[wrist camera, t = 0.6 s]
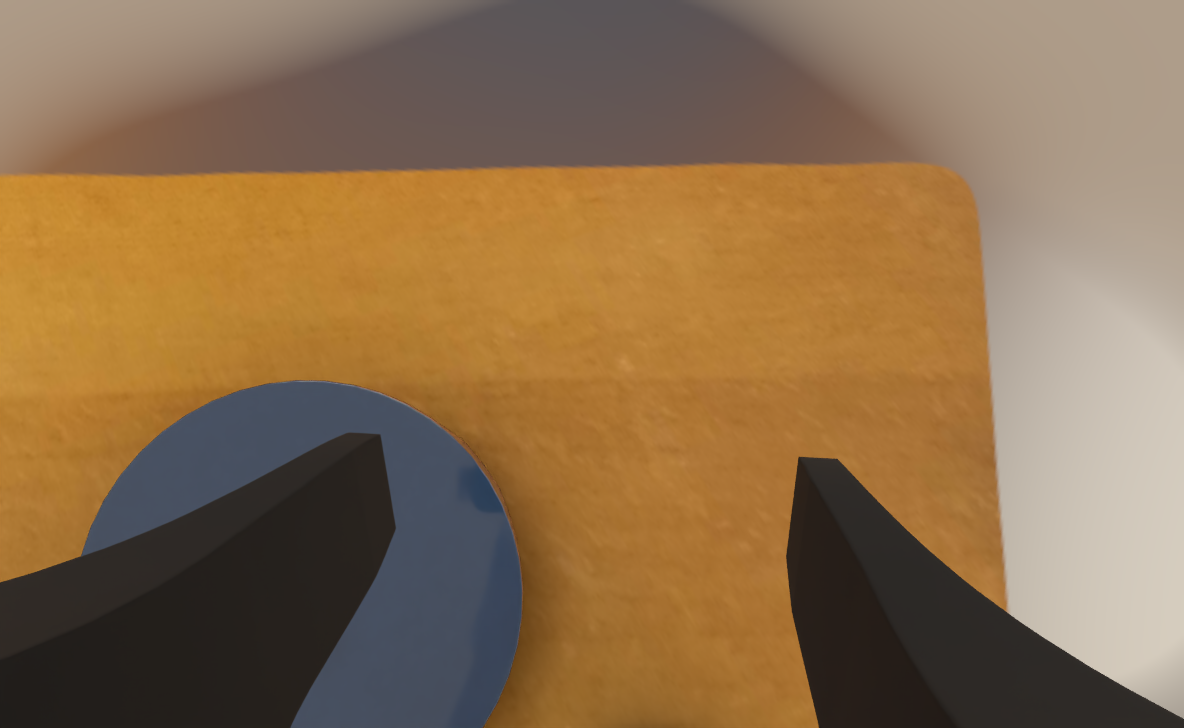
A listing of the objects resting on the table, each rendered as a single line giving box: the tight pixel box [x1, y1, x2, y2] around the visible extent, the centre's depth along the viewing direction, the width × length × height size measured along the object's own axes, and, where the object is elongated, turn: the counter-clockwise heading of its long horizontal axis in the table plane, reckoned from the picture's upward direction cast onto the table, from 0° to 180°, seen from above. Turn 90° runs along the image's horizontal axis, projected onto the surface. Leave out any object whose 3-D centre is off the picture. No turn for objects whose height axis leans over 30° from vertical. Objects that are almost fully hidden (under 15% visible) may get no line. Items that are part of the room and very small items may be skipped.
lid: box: [81, 380, 523, 728], centre depth 28 cm, size 18×18×4 cm
